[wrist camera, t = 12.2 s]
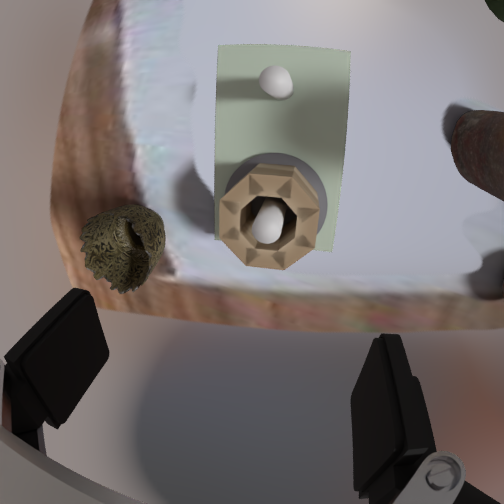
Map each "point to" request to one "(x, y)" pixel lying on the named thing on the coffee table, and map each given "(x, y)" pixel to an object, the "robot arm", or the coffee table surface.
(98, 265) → the fiber plant pot
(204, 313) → the coffee table surface
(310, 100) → the hub board
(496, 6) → the character mug
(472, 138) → the brown log
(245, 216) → the collar
